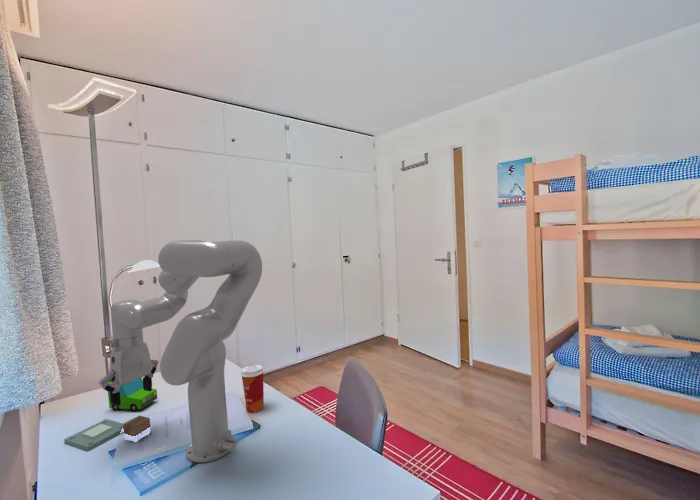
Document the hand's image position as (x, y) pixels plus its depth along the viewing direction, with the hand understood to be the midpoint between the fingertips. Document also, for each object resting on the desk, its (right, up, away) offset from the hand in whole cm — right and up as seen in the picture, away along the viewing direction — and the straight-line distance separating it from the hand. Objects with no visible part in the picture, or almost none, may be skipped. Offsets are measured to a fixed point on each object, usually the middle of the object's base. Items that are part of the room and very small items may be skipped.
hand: (132, 397), depth 105 cm
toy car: (-12, -12, +21) cm, 27 cm away
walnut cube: (+1, -12, 0) cm, 12 cm away
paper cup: (+34, -10, +13) cm, 37 cm away
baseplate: (-12, -13, +2) cm, 18 cm away
